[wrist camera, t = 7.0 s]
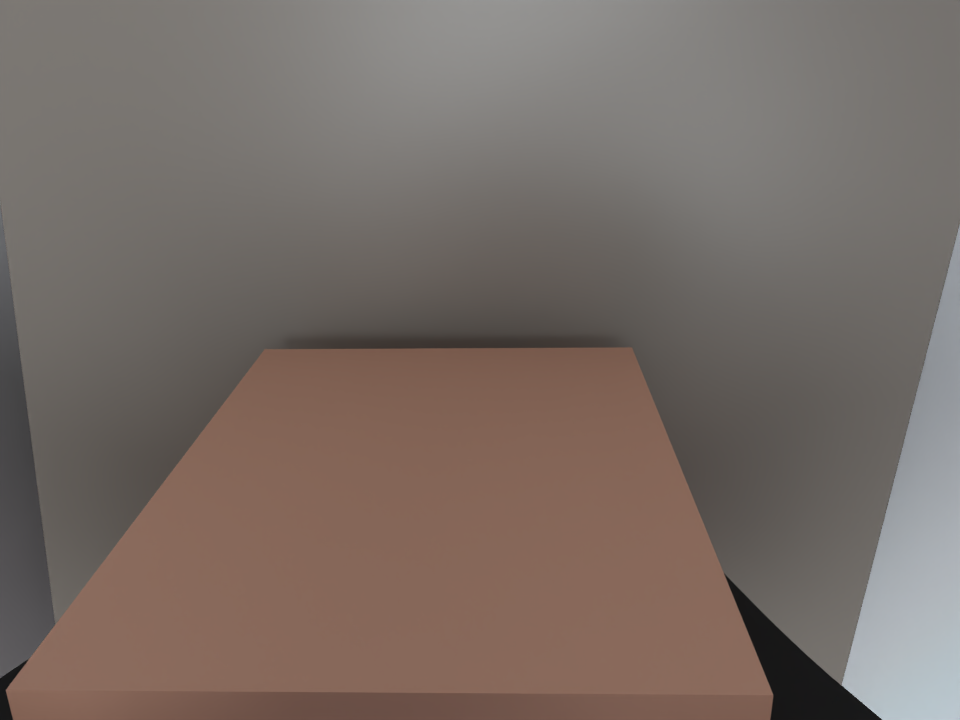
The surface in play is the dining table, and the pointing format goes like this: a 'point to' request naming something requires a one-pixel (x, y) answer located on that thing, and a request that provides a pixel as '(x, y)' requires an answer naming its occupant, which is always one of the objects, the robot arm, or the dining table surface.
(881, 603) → the dining table surface
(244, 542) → the terracotta block
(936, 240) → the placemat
